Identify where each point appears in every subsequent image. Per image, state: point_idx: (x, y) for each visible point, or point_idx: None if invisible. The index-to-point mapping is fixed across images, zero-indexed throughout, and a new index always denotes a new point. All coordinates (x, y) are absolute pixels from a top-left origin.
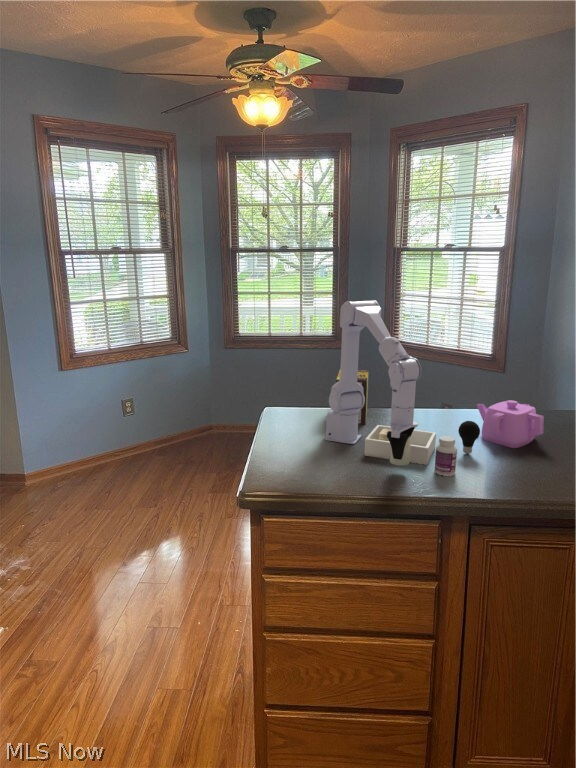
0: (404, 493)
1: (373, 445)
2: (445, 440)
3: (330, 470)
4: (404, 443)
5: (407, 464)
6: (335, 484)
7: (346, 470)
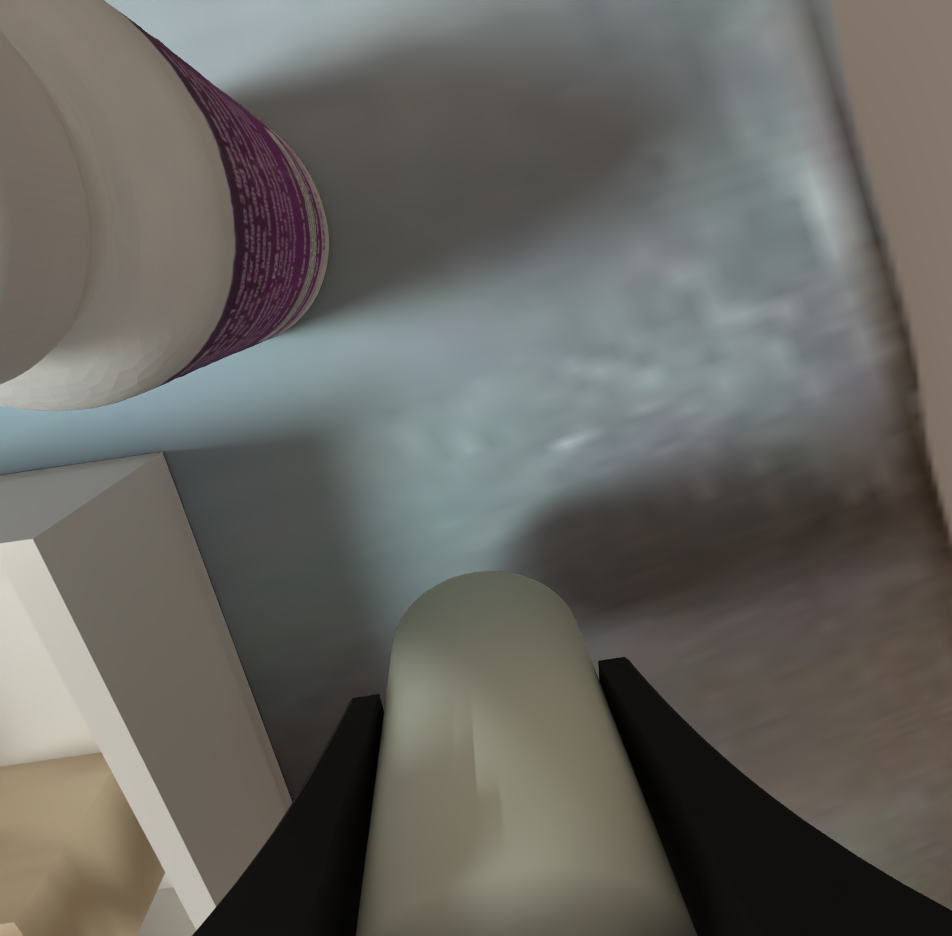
0: (848, 416)
1: None
2: None
3: None
4: (853, 857)
5: (516, 575)
6: (843, 804)
7: None
